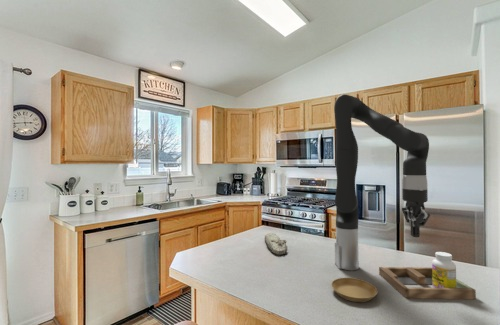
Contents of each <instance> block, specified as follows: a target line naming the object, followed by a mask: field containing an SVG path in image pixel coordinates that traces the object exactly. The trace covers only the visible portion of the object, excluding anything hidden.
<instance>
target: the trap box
mask: <svg viewBox="0 0 500 325" xmlns="http://www.w3.org/2000/svg"><path fill="white" fill-rule="evenodd" d="M378 275H379V276H380V277H381V278H383V279H384V280H385V281H386V282H387V283H388V284H389V285H390V286H391V287H392V288H394V289H395V290H396V291H397V292H398V293H399V294H400V295H401V296H403V297H404V298H405V299H431V300H432V299H433V300H434V299H435V300H436V299H437V300H438V299H440V300H442V299H444V300H450V299H451V300H455V299H456V300H477V297H476V295H477V292H476V289H475V288H473V287H471V286H469V285H468V284H466V283H464V282H462V281H460V280H459V279H457V278H456V288H433V287H410V286H412V285H416V286H426V285H429V286H433V275H432V267H422V266H421V267H419V266H417V267H412V266H411V267H410V266H409V267H408V266H407V267H405V266H402V267H401V266H400V267H398V266H379V267H378ZM406 285H410V286H409V287H407V286H406Z"/></svg>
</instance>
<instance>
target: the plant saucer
mask: <svg viewBox="0 0 500 325" xmlns="http://www.w3.org/2000/svg"><path fill="white" fill-rule="evenodd" d="M330 286H331V288H332V289H333V290H334V291H335V293H336V294H337V295H338V296H339V297H341V298H342V299H345V300H346V301H349V302H355V303H365V302H369V301H370V300H371V301H372V299H374V298H375V297H376V295H378V289H377V287H376V286H375V285H374V284H372V283H371V282H368V281H366V280H363V279H359V278H354V277H339V278H336V279H334V280H332V281H331V285H330Z"/></svg>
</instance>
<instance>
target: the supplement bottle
mask: <svg viewBox="0 0 500 325" xmlns="http://www.w3.org/2000/svg"><path fill="white" fill-rule="evenodd" d="M434 255H435V258H434V259H432V261H431V262H432V264H431V265H432V266H431V268H432V275H433V285H432V288H456V279H457V266H456V264H455V263H454V262H453V261H452V260H453V255H452V254H451V253H449V252H444V251H436V252H435V254H434Z"/></svg>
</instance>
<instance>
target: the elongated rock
mask: <svg viewBox="0 0 500 325" xmlns="http://www.w3.org/2000/svg"><path fill="white" fill-rule="evenodd" d="M264 241H265V243H267V244H266V245H267V247H268V248H269V250H270V249H271V250H272V251H271V250H270V251H271V252H272V253H273V254H275V255H286V253H287V252H288V246H287V240H285V239H281V238H280V237H279V235H277V234H276V233H273V232H272V233H271V232H270V233H269V232H268V233H267V234H265V235H264Z"/></svg>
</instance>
